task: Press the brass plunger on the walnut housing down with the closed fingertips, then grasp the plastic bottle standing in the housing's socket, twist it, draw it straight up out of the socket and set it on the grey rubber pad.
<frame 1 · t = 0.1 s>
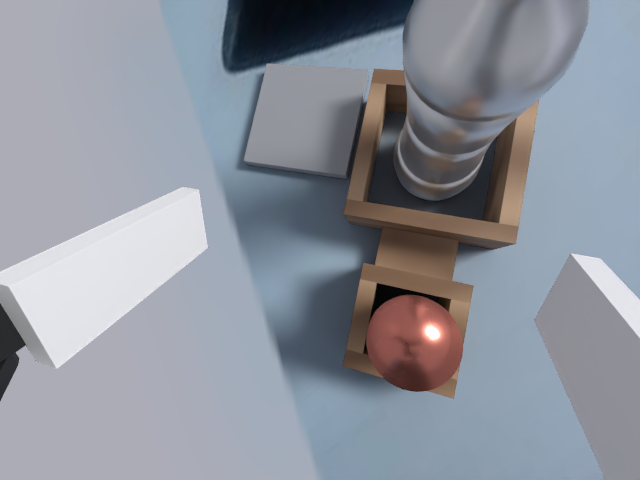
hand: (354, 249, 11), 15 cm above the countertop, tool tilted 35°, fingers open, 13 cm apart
pad: (306, 121, 29), on the countertop
plunger: (408, 331, 19), point 6 cm above the countertop, slide at 0.0 cm
plastic bottle: (430, 169, 26), resting in housing
housing: (430, 168, 26), on the countertop
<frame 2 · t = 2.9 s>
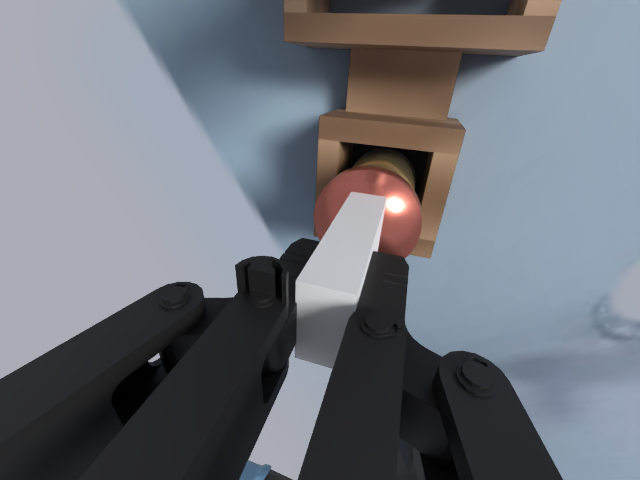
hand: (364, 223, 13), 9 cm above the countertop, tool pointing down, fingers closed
plunger: (375, 198, 16), point 6 cm above the countertop, slide at 0.6 cm, touching gripper
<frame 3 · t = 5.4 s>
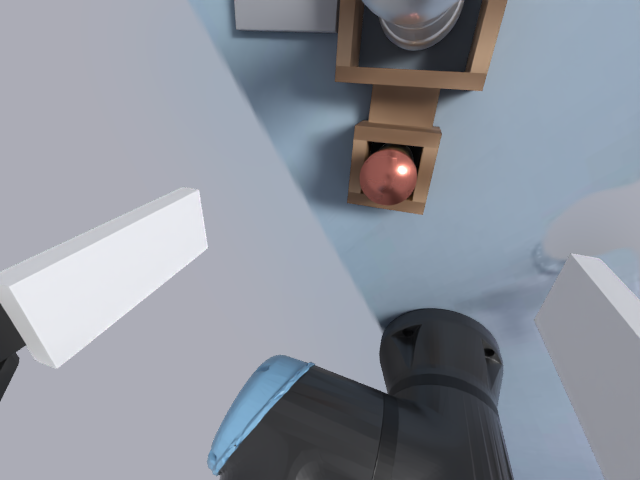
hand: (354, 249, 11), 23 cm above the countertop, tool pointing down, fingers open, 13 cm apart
plunger: (390, 169, 28), point 4 cm above the countertop, slide at 2.6 cm
plastic bottle: (420, 7, 26), resting in housing
housing: (419, 6, 25), on the countertop
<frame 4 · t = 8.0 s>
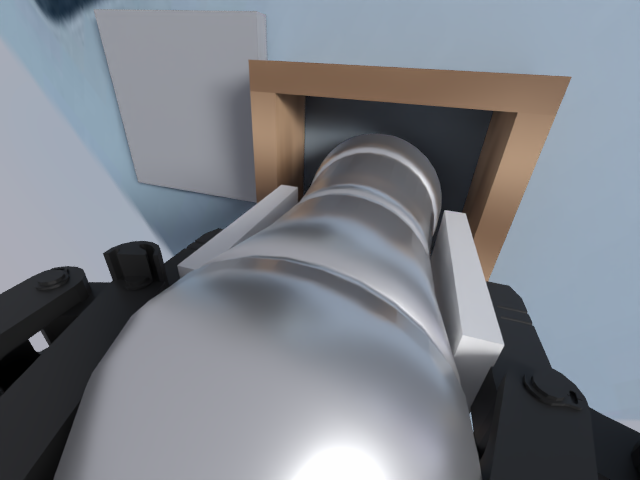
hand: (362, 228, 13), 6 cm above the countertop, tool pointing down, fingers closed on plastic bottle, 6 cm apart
pad: (196, 112, 19), on the countertop
plastic bottle: (380, 184, 18), resting in housing, touching gripper
housing: (380, 185, 18), on the countertop
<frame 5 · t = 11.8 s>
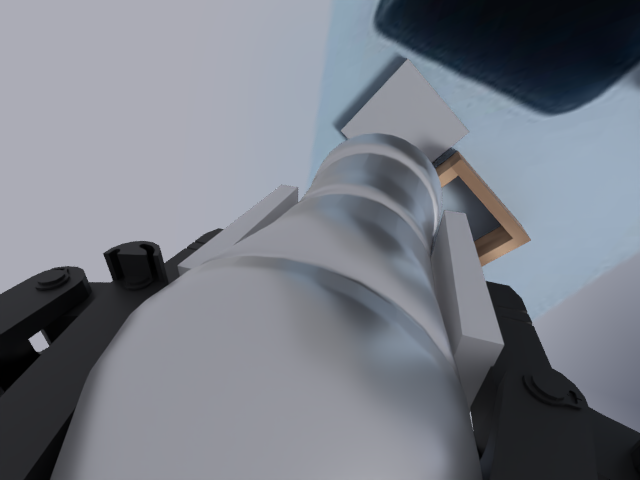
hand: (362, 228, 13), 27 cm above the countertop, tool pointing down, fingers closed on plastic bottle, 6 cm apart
pad: (402, 129, 35), on the countertop
plastic bottle: (380, 184, 18), point 20 cm above the countertop, touching gripper
housing: (445, 218, 38), on the countertop
when the fingers open (8 cm above the countertop, at t = 15.4 s): plastic bottle drops 1 cm, resting on pad.
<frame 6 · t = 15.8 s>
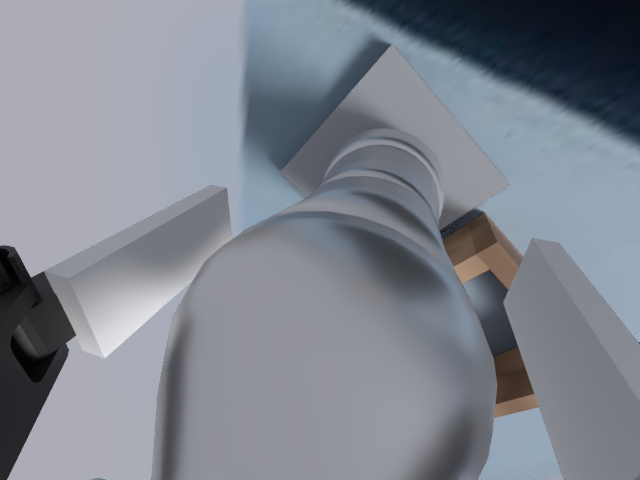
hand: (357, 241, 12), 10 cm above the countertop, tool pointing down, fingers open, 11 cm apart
pad: (384, 173, 20), on the countertop
plastic bottle: (386, 178, 19), point 1 cm above the countertop, touching pad
housing: (459, 314, 23), on the countertop
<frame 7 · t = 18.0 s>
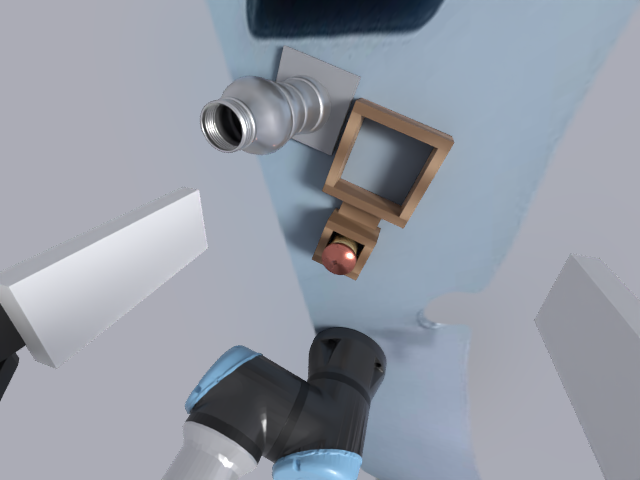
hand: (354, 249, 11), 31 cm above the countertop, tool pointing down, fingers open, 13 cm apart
pad: (311, 103, 39), on the countertop
plunger: (343, 248, 44), point 4 cm above the countertop, slide at 2.6 cm
plastic bottle: (310, 103, 39), point 1 cm above the countertop, touching pad
housing: (385, 161, 40), on the countertop
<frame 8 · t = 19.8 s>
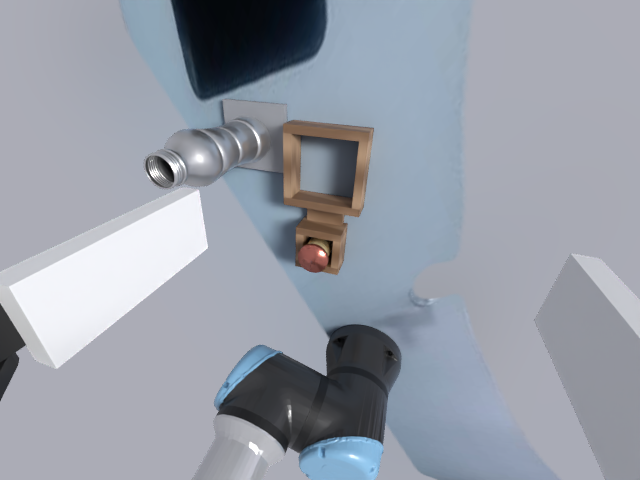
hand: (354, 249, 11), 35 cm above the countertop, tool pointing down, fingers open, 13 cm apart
pad: (257, 136, 47), on the countertop
plunger: (318, 249, 49), point 4 cm above the countertop, slide at 2.6 cm
plastic bottle: (256, 136, 46), point 1 cm above the countertop, touching pad
housing: (329, 165, 46), on the countertop
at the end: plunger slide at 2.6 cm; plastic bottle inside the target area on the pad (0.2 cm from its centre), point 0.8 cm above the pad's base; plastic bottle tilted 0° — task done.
